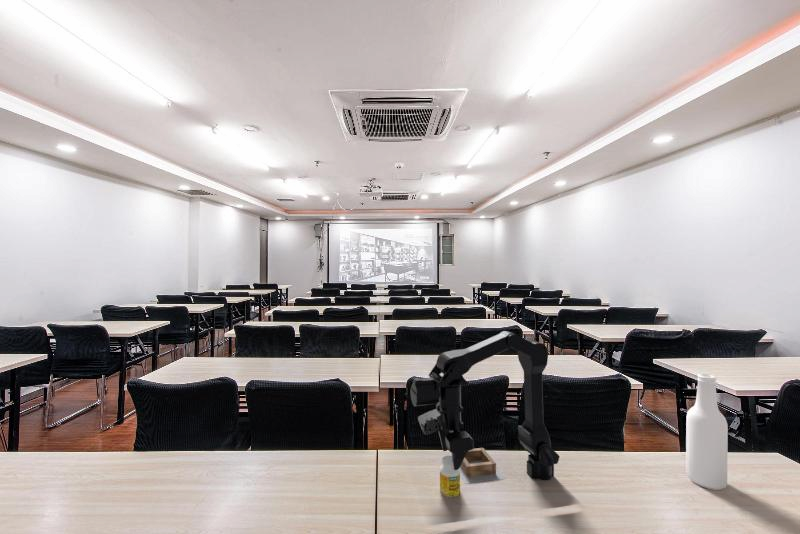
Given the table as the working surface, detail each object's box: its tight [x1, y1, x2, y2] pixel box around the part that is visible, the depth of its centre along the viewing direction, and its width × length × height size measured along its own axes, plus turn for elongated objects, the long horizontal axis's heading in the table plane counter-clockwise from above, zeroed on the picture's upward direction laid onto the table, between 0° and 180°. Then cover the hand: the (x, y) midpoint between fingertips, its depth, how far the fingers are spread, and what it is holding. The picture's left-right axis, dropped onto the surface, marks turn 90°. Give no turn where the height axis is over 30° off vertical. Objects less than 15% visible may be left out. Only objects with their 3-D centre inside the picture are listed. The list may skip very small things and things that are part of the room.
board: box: [459, 460, 506, 485], centre depth 105 cm, size 12×14×1 cm
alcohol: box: [685, 373, 729, 491], centre depth 99 cm, size 9×9×30 cm
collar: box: [460, 447, 497, 477], centre depth 105 cm, size 9×9×3 cm
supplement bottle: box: [439, 455, 461, 498], centre depth 94 cm, size 5×5×10 cm
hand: (450, 459), depth 94 cm, fingers open, 9 cm apart
